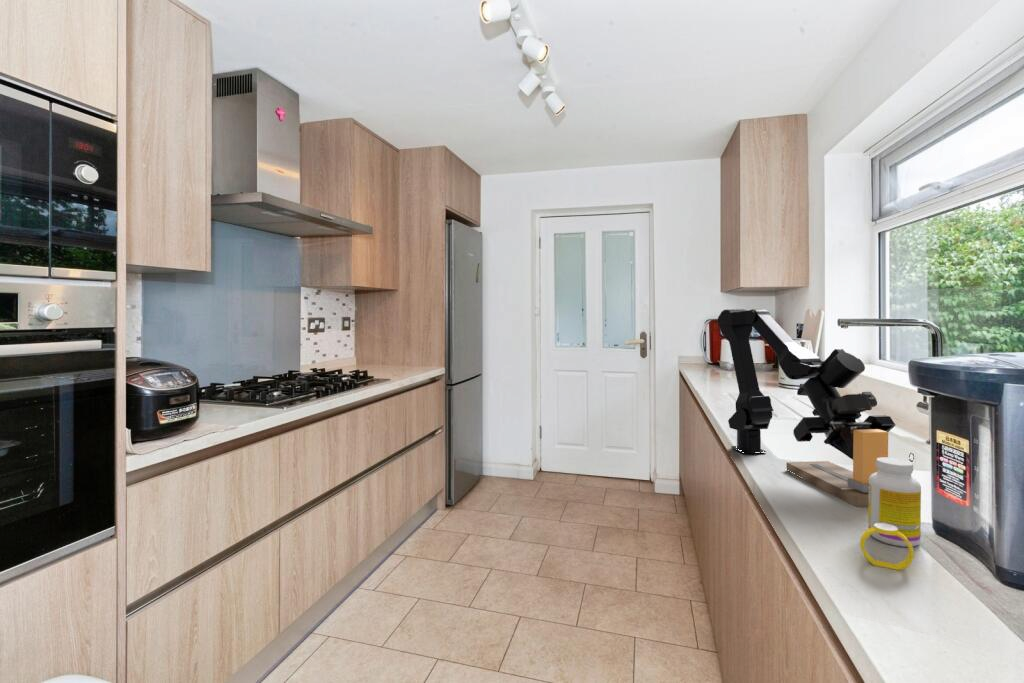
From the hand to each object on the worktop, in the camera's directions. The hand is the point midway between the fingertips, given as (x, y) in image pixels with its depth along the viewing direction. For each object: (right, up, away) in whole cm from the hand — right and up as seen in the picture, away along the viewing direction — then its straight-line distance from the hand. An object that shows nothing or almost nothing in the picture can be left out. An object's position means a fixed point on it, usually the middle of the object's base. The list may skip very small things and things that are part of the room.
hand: (864, 464), depth 95 cm
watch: (-16, -8, -26) cm, 32 cm away
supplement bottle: (-8, -8, -18) cm, 21 cm away
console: (0, -6, +7) cm, 9 cm away
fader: (0, -4, -1) cm, 5 cm away
